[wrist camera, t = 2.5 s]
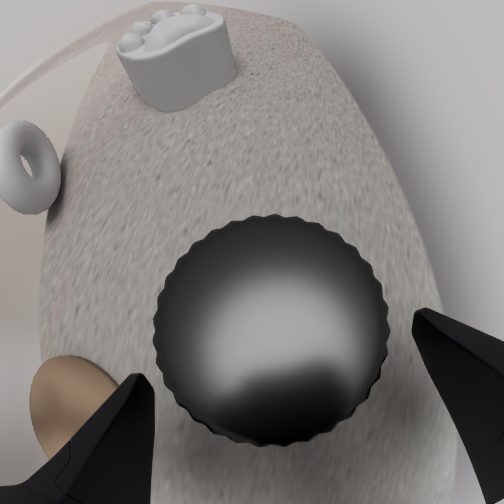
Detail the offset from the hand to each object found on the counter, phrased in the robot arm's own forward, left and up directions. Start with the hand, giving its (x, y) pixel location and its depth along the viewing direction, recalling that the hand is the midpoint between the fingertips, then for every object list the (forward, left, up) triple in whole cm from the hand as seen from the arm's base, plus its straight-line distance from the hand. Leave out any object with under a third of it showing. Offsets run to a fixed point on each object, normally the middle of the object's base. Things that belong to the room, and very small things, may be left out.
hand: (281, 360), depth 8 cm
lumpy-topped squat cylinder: (+31, -1, -9) cm, 32 cm away
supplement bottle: (+1, 0, -9) cm, 9 cm away
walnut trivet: (-1, +17, -8) cm, 19 cm away
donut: (+22, +16, -9) cm, 28 cm away
